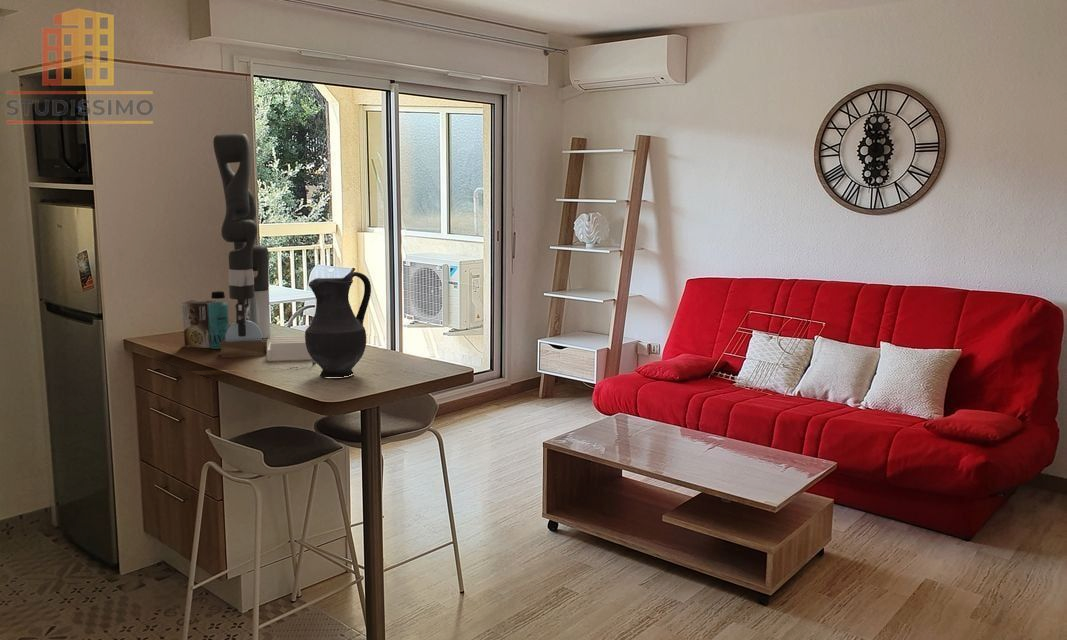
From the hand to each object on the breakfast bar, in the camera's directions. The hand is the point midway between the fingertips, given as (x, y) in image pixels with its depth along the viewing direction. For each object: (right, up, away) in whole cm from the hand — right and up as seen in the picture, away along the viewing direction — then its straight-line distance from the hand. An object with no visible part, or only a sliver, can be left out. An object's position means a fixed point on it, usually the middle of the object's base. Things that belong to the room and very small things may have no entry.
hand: (243, 333), depth 266 cm
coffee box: (-19, -5, +14) cm, 24 cm away
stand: (0, -8, +1) cm, 8 cm away
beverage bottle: (-11, -6, +11) cm, 17 cm away
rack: (+16, -8, 0) cm, 18 cm away
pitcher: (+36, -12, -19) cm, 42 cm away
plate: (0, -6, +1) cm, 7 cm away
